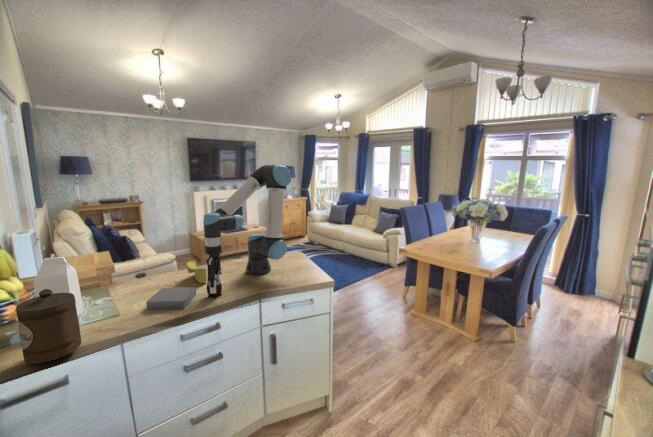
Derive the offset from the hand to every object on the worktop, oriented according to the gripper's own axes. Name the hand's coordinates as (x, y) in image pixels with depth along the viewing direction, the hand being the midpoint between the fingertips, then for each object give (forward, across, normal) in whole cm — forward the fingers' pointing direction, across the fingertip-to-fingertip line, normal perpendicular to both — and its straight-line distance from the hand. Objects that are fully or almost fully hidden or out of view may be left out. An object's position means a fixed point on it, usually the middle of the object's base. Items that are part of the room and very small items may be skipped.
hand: (215, 290), depth 150 cm
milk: (+3, +19, -58) cm, 61 cm away
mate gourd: (+3, 0, 0) cm, 3 cm away
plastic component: (+3, -23, -18) cm, 29 cm away
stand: (+3, +6, -18) cm, 19 cm away
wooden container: (+3, +44, -42) cm, 61 cm away
